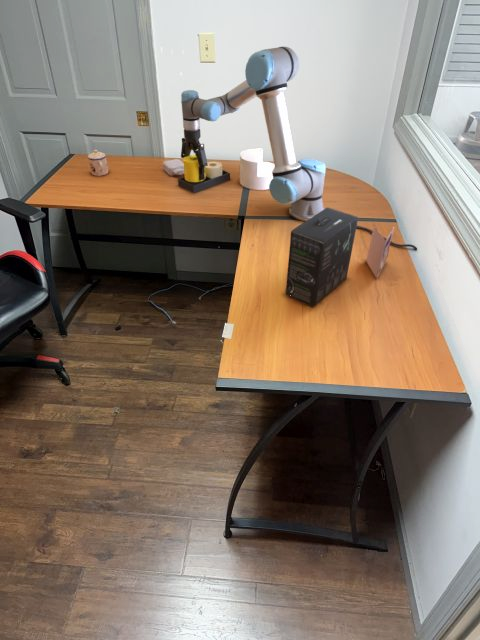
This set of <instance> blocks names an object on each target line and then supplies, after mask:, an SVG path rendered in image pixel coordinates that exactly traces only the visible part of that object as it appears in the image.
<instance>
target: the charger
mask: <svg viewBox="0 0 480 640" xmlns="http://www.w3.org/2000/svg"><path fill="white" fill-rule="evenodd" d="M162 169H163V171H165V172H166V173H167V174H168V175H169V176H171V177H173V176H182V175H185V174H184V162H183V161H181V160H180V159H178V158H174V159H170V160H169V159H168V160H165V161H163V162H162Z"/></svg>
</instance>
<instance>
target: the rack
mask: <svg viewBox="0 0 480 640" xmlns="http://www.w3.org/2000/svg"><path fill="white" fill-rule="evenodd" d="M228 181H231V172H229V171H227V170H223V169H222V176H219V177H216V178H213V179H211V178H209V177H207V176H205V179H204V180H203V181H200V182H189V181H186V180H185V175H184V176H182V177H179V178H177V184H178V185H177V186H178V187H180V188H182V189H184V190H186V191H188V192H190V193H192V194H195V193H199V192H202V191H204V190H206V189H209V188H212V187H214V186H215V187H216V186H218V185H220V184H223V183H226V182H228Z"/></svg>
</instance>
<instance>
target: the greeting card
mask: <svg viewBox="0 0 480 640" xmlns="http://www.w3.org/2000/svg"><path fill="white" fill-rule="evenodd" d="M394 229H395V227H393V228H392V230H391V231H390V233H389V234H388V236H387V238H386V239H387V240H386V241H385V239H384V238H385V237H384V236H383V235H382V234H381V232H380V231H379V228H377V227H376V225H375V224H374V225H373V228H372V231H373V232H371V237H370V241H369V246H368V250H367V255H366V260H365V262H366V263H367V265H368V267H369V268H370V270H371V271H372V273H373V275H374V277H375V278H376V279H377V278H378V277H379V275H380V273H381V271H382V269H383V267H384V266H385V265H386V261H387V258H388V256H389V252H390V246H391V244H390V242H392V237H393V234H394ZM383 237H384V238H383Z"/></svg>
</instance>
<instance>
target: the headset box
mask: <svg viewBox="0 0 480 640" xmlns="http://www.w3.org/2000/svg"><path fill="white" fill-rule="evenodd" d="M358 221H359V217H358V216H356V215H354V214H350V213H347V212H343V211H341V210H338V209H334V208H332V207H325V208H324V210H322V211H321V212H319V213H318V214H316V215H315V216H313V217H312V218H310V219H309V220H307V221H303V222H302V223H301V224H299V225H298V226H296V227H295V228H293V229H291V231H290V240H289V251H288V262H287V274H286V285H285V295H286V296H288V297H289V298H292V299H293V300H295V301H297V302H300V303H301V304H304V305H306V306H308V307H310V308H315V307H316V306H317V305H318V304H319V303H321V301H322V300H324V299H325V298H326V297H327V296H328V295H330V293H332V292H333V291H334V290H336V289H337V288H338V287H339V286H340V285H341V284H342V283H344V282H345V281H346V280H347V279H348V274H349V269H350V263H351V258H352V253H353V246H354V242H355V238H356V237H355V236H356V232H357V226H358ZM290 295H291V296H290Z"/></svg>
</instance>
